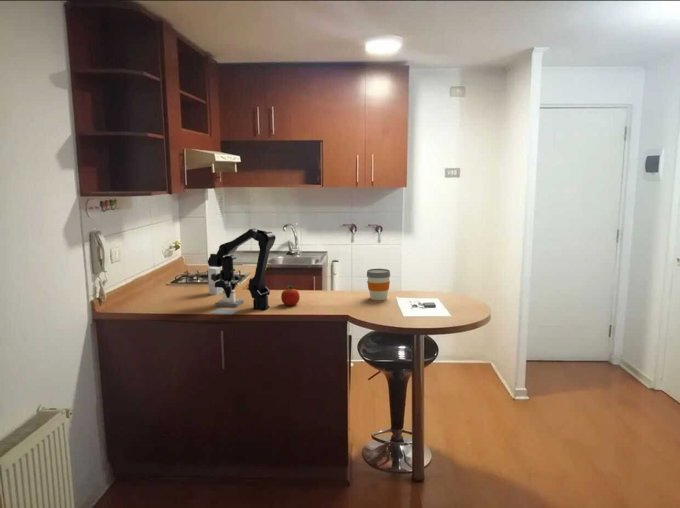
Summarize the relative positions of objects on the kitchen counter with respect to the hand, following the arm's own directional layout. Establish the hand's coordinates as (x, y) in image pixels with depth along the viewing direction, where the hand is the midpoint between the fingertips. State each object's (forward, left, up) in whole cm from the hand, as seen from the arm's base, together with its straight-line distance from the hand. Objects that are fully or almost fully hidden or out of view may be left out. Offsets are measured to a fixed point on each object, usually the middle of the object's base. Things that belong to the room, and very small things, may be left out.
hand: (229, 297), depth 261 cm
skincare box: (+19, -23, -4) cm, 30 cm away
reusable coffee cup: (-73, -29, -4) cm, 79 cm away
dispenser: (0, 0, -4) cm, 4 cm away
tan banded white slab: (0, 0, -3) cm, 3 cm away
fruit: (-31, -7, -4) cm, 32 cm away
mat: (-4, +13, -4) cm, 14 cm away
